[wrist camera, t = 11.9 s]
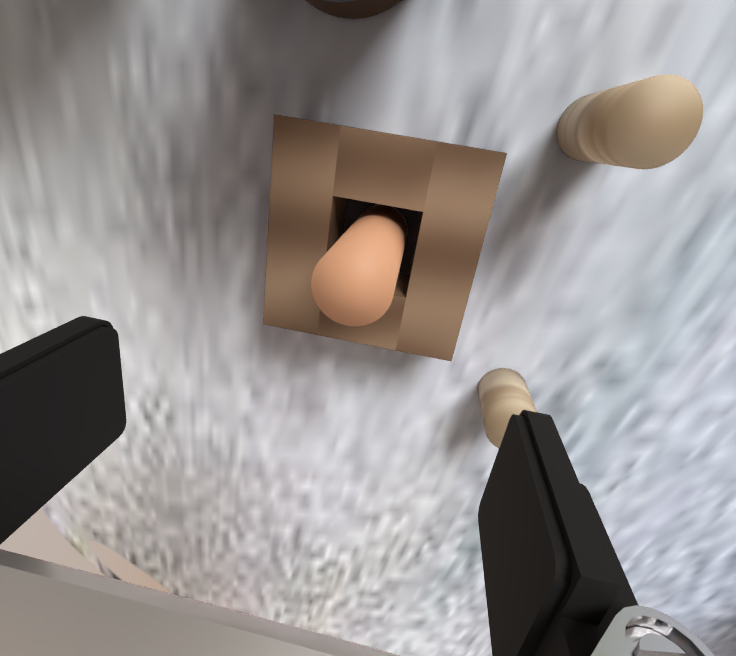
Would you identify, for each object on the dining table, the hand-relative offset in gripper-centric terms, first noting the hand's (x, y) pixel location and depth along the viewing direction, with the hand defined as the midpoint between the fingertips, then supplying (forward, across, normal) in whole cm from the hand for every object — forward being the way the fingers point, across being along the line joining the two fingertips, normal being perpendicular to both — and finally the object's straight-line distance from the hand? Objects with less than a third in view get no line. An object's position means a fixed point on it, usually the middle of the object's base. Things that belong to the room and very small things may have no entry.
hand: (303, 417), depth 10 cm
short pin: (+21, -10, +10) cm, 25 cm away
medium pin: (+21, -10, -8) cm, 25 cm away
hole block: (+21, +1, 0) cm, 21 cm away
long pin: (+21, +1, 0) cm, 21 cm away
